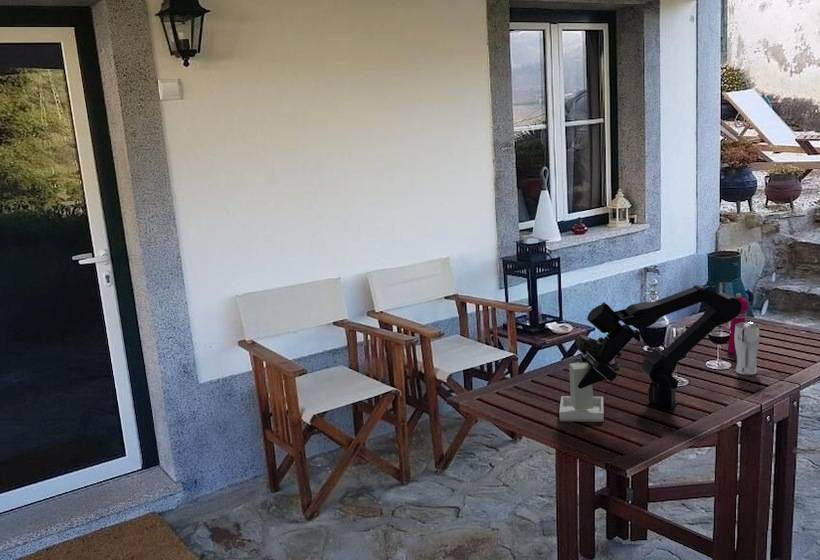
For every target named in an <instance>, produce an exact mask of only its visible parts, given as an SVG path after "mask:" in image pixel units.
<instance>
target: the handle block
mask: <svg viewBox="0 0 820 560" xmlns="http://www.w3.org/2000/svg"><path fill="white" fill-rule="evenodd" d="M568 365H569V367H568V368H569V369H568V370H569V388H570V390H569V392H570V393H569V394H570V396H571V404H572V406H573V407H574V409H575V410H583V409H592V408H593V397H594V395H593V394H594V392H593V388H594V387H593V384H591V385H589V386H586V387H584V388H582V389H580V388H578V385H579V383H580V382H581V380H582V379H583V377H584V376H585V375H586V373H587V372H588V363H587V362H580V363H576V362H574V363H573V362H572V363H569V364H568Z"/></svg>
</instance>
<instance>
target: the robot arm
mask: <svg viewBox="0 0 820 560" xmlns="http://www.w3.org/2000/svg"><path fill="white" fill-rule="evenodd" d="M700 303H705V304H707V305H706V307H705V309H704V312H703V314H702V315H701V316H700V317H699V318H698V319H697V320H695V321H694V323H692V324H691V325H690V326H689V327H688V328H687V329H685V330H684V332H682V334H680V335H679V336H678V337H677V338H676V339H675V340H674V341H672V343H670V345H668V346H667V347H666V348H664V349H662V350H658V349H657V348H654V349H652V351H651V352H650V353H649V354H648V355H646V356H644V360H643V362H642V364H641V371H642V373H643V374H644V375H646V377H647V378H648V380H649V381H651V382H650V383H649V387H648V389H647V392H648V395H647V397H648V398H647V399H648V400H647V401H648V403H647V406H648V407H653V408H657V409H663V410H667V411H668V410H672V409H673V408H674V407H675V406H676V405H677V404H678V403H679V400H676V398H677V397H676V393H677V391H676V389H677V388H678V385H679V383H680V382H679V380H678V379H677V378H676V377H674V376H673V373H674V372H676V371H675V370H676V368H677V365H678V363H679V362H680V361H681V360H682V358H684V357H685V356H686V355H687V354H688V353H689V352H690V351H691V350H692V349H694V348H695V347H697V345H698V344H699V343H700V342H701V341H702V340H704V339H705V338H706V337H707V336H708V335H709V334H710V333H711V332H712V331H713V330H715V328H717V327H719V326H722V325H724V324H727V323H729V322H731V321H732V319H734V318H735V317H737V316H738V315H739V314H740V313H741V311H742V310H741V308H742V305H741V302H740V301H739V300H738V299H736V297H735V296H732V295H730V294H728V293H725V292H715V291H713V290H710V289H709V288H707V287H706V286H704V285H701V284H697V285H696V284H695V285H693V286H692V287H690V288H688V289H684V290H682V291H679V292H677V293H675V294H674V293H673V294H671V295H669V296H666V297H663V298H660V299H657V300H655V301H648V302H647V301H645V302H638V303H632V304H630V305H628V306H627V307H626V308H624V309H620V310H615V311H614V309H612V308H611V306H610V305H608V304H607V303H606V302H604V301H603V302H602V303H601V304H600V305H597V306H595V307H594V308H592V309H591V310H590V312H589V313H588V314H587V317H586V320H587V321H588V322H589V323H590V324H591V325H592V326H594V327H595V329H597V330H598V331H599V332H601V334H606V333H607V335H605V337H602V336H601V337H598V339H595V338H592V337H589V336H586V335H583V334H579V335H578V337H577V340H576V342H575V346H576V347H577V350H578V351H579V352H580V353H579V358H580V361H581V362H587V363H588V372H587V373H586V375H585V376H584V377H583V379H582V380H581V382H580V383H579V385H578V388H580V389H582V388H584V387H586V386H589V385H591V384H592V385H593V384H596V383H600V382H602V381H607V380H608V381H610V382H611V383H613V382H614V381H615V380H616V379H617V372H616V371H615V369H612V368H611V366H612V365H611V364H610V362H611V361H612V360H613V359H614V360H615V358H616V357H618V358H620V357H621V356H622V353H621V352H622V350H624V348H625V347H626V346H627V345H628V344H629V343H630V341H632V339H634V340H636V341H637V342H638V343H639V342H641V341H642V340H641V332H640V330H645V329H648V328H649V327H650V326H652V325H654V324H655V323H656V322H658V321H659V320H660V319H661V318H663V317H664V316H668V315H670V314H673V313H675V312H678V311H681V310H683V309H685V308H689V307H691V306H693V305H696V304H700ZM620 322H622V323H623V325H622V324H621V323H620ZM632 327H633V328H635V329H633V328H632Z"/></svg>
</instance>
